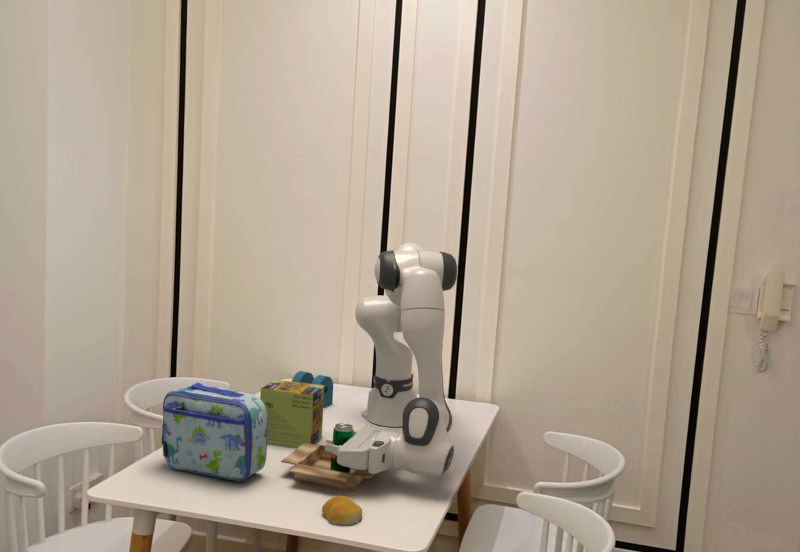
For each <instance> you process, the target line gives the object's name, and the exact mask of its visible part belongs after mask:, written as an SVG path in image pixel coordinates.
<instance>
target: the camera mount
mask: <svg viewBox="0 0 800 552" xmlns="http://www.w3.org/2000/svg"><path fill="white" fill-rule="evenodd" d="M291 382H300V383H308V384H316V385H324V402H323V408H324V409H326V408H328V407H331V406H333V399H334V398H333V397H334V396H333V395H334V382H333V379H332V377H330V376H327V375H322V374H318V375H316V376H315V377H314V375H313V374H312V373H311V372H308V371H303V370H299V371H297V372H296V373H295V374H294V376H293V377H292V379H291ZM330 405H331V406H330Z"/></svg>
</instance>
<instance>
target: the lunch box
mask: <svg viewBox="0 0 800 552" xmlns="http://www.w3.org/2000/svg"><path fill="white" fill-rule="evenodd" d="M162 412H163V413H162V414H163V415H162V425H161V428H162V430H161V445H162V456H163V457H164V459H165V462H166V464H167V466H168V467H169V468H170V469H171V470H173V471H182V472H183V471H184V472H189V473H194V474H200V475H203V476H204V475H205V476H210V477H214V478H219V479H224V480H228V481H232V482H234V481H235V482H244V481H246V480H247V479H248V478H249V477H250V476H252V475H253V474H256V473H257V472H259V471H261V470H263V469H264V467H265V465H266V462H267V461H266V460H267V454H268V453H267V450H268V444H267V411H266V407H265V405H264V403H263V401H262V400H261V399H260V397H258V396H256V395H254V394H251V393H249V392H243V391H240V390H233V389H230V388H223V387H218V386H209V385H205V384H204V385H203V384H202V383H200V382H195V383H193V384H189V385H186V386H184V387H183V388H180V389H176V390H174V391H172V390H171V391H169V392H167V393H166V394H165V396H164V398H163V401H162Z"/></svg>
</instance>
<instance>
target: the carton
mask: <svg viewBox="0 0 800 552" xmlns="http://www.w3.org/2000/svg"><path fill="white" fill-rule="evenodd" d="M332 442H333V440H328V439H326V440H325V441H324V442H322V444H310V443H304V444H302V445H301V446H300V447H298V448H295V449H294V450H293V451H292V452H290V453H289V454H288V455H287V456H285V457H284V458H283V459H282V460H280V462H281V463H284V464H290V465H294V467H292V468H291V469H290V470H289V471H290V473H294V481H297V482H303V483H307V484H313V485H317V486H323V487H329V488H334V489H338V490H344V491H350V492H353V491H354V490H356V488H357V487H358V486H359V485H360V484H361V483H362V482H363V480H364V479H365V478H366V479H371V478H372V477H373V476H374V475H375V474H372V473H369V472H368V469H367V470H359V469H354V468H351V470H350V473H345V472H340V471H334V470H330V464H331V453H332V452H327V451H325V445H326V444H327V443H332Z"/></svg>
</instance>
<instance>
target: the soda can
mask: <svg viewBox="0 0 800 552" xmlns="http://www.w3.org/2000/svg"><path fill="white" fill-rule="evenodd" d="M332 431H333V433H332V441H333V442H332V443H334V445H336V446H339V445H340V446H342V445H344V444H345V443H346V442H347V441H348V440H349V439H350V438H351V437H352V436H354V431H355V429H354V426H353V425H352V424H350V423H344V422H339V423H336V424H335V426H334V427H333V430H332ZM330 470H334V471H340V472H345V473H350V470H351V468H349V467H345V466H342V465H340V464H338V463H337V456H336V455H335V454H333V453H331V464H330Z"/></svg>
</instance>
